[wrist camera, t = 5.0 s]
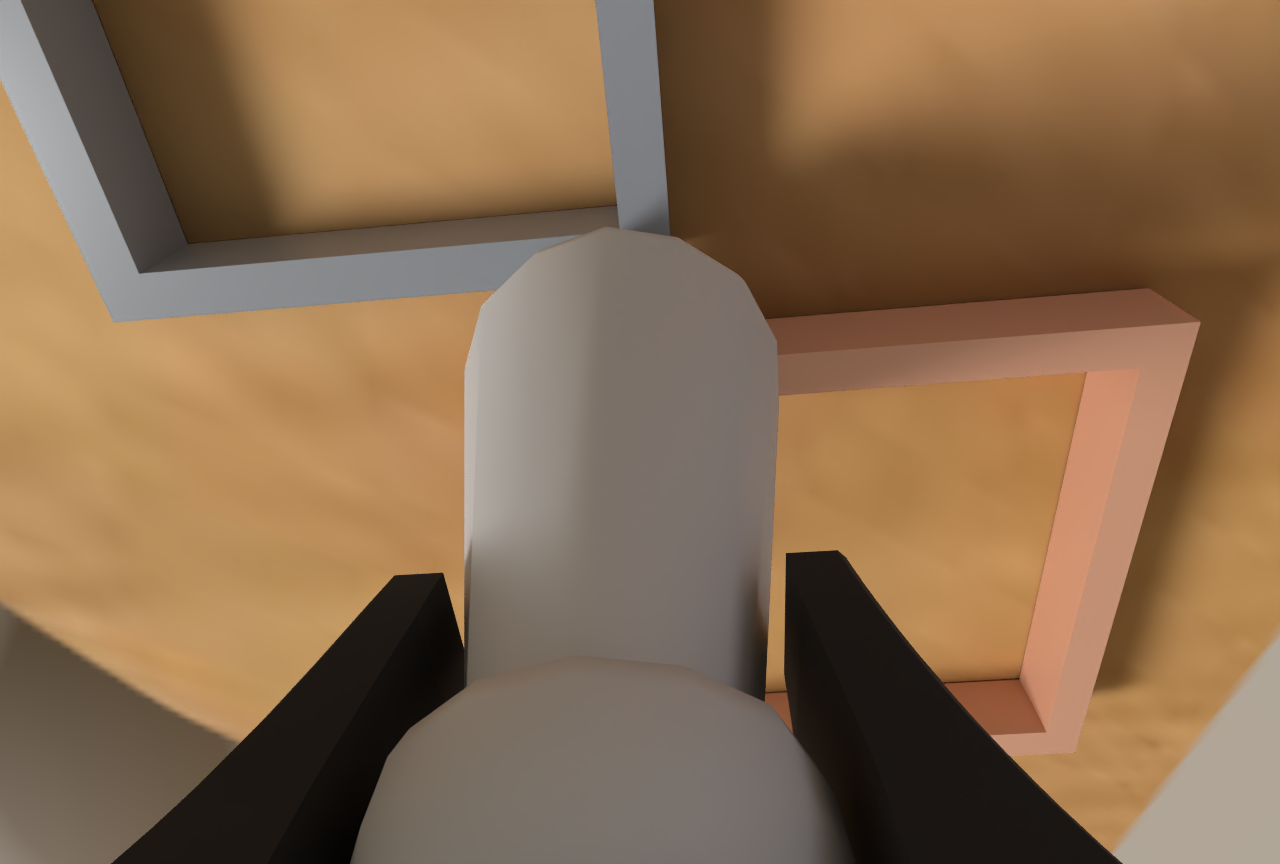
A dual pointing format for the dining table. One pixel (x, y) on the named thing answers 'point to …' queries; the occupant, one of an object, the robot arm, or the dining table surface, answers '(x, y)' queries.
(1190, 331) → the salmon pink square frame
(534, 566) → the salt shaker
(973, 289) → the dining table surface
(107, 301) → the grey square frame
